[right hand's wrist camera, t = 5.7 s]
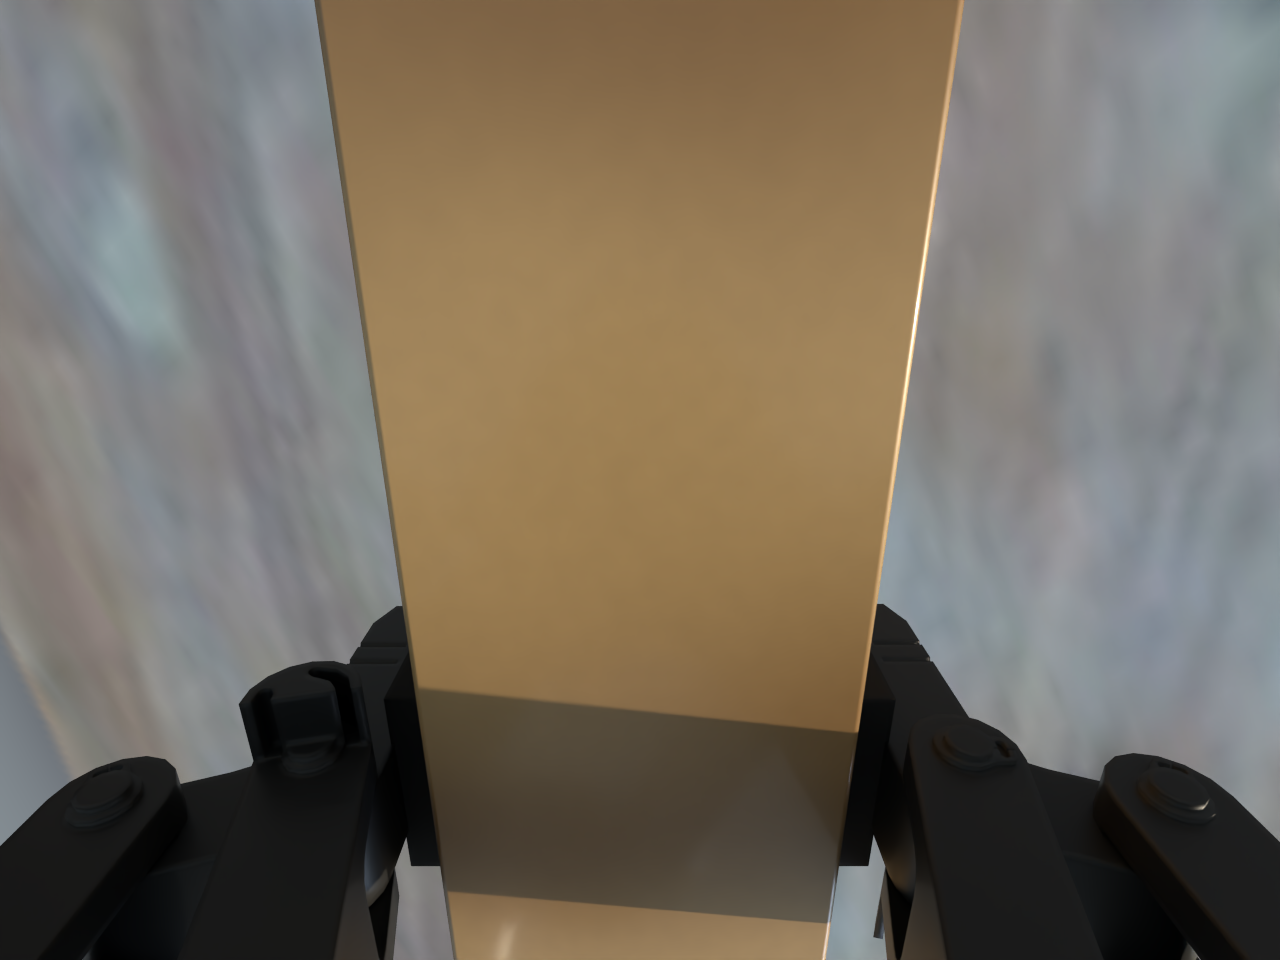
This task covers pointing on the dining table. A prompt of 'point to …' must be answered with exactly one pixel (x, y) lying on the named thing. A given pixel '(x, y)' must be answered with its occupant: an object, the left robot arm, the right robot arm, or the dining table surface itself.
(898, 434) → the bar
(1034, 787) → the right robot arm
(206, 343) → the dining table surface
